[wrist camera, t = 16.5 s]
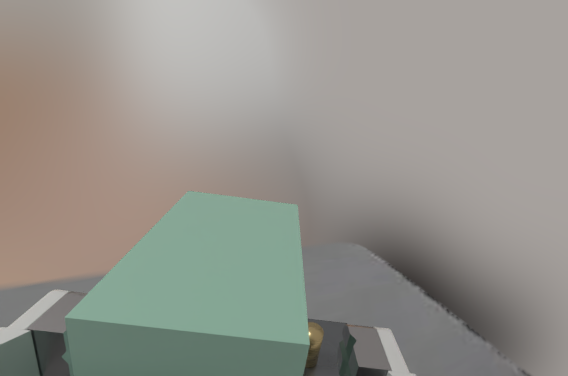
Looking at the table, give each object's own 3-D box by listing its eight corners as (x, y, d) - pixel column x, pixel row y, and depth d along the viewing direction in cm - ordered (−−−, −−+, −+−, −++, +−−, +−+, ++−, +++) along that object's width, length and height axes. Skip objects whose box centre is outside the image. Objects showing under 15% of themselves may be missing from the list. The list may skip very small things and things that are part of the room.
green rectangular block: (109, 598, 8) (64, 317, 5) (184, 384, 13) (188, 190, 10) (252, 609, 8) (309, 344, 5) (266, 393, 14) (297, 204, 10)
